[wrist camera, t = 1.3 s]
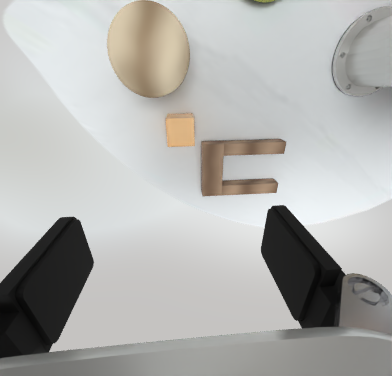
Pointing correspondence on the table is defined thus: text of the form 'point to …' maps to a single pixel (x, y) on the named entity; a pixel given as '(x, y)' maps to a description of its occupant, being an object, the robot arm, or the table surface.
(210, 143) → the notched board
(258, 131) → the table surface
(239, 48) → the table surface
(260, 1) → the mat
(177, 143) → the orange-brown rectangular block
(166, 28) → the disc
